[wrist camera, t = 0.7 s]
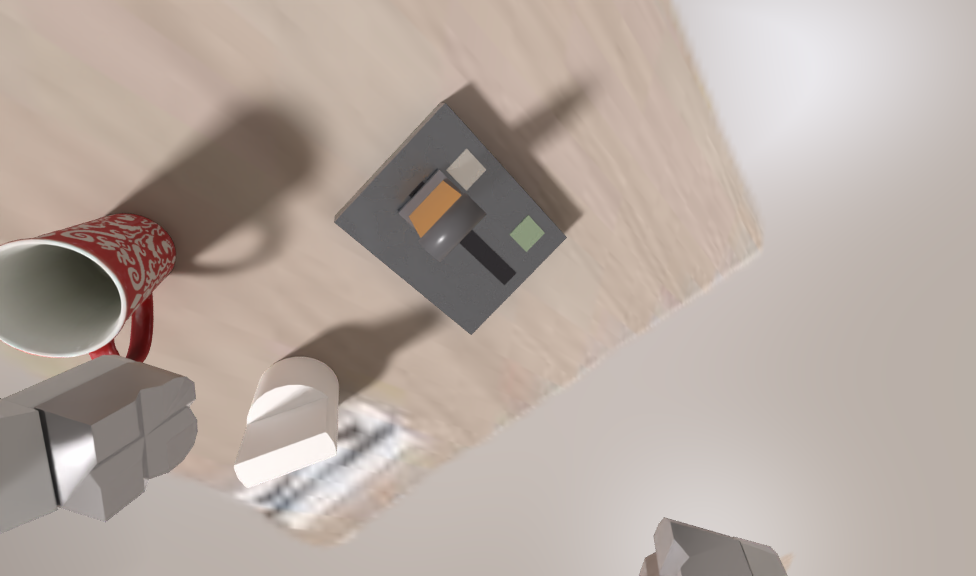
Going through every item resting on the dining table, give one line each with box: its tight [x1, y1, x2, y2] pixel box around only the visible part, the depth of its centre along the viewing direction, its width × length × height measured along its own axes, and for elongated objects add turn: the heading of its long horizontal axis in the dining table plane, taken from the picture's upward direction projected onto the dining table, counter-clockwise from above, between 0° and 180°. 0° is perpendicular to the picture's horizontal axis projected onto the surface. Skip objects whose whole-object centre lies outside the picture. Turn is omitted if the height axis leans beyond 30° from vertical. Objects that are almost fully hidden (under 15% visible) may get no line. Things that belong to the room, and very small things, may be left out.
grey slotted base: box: [334, 103, 567, 335], centre depth 51 cm, size 20×16×3 cm
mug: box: [0, 213, 176, 363], centre depth 39 cm, size 13×9×14 cm
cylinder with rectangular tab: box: [234, 357, 339, 488], centre depth 49 cm, size 9×9×12 cm
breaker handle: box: [398, 169, 487, 262], centre depth 42 cm, size 4×6×11 cm
